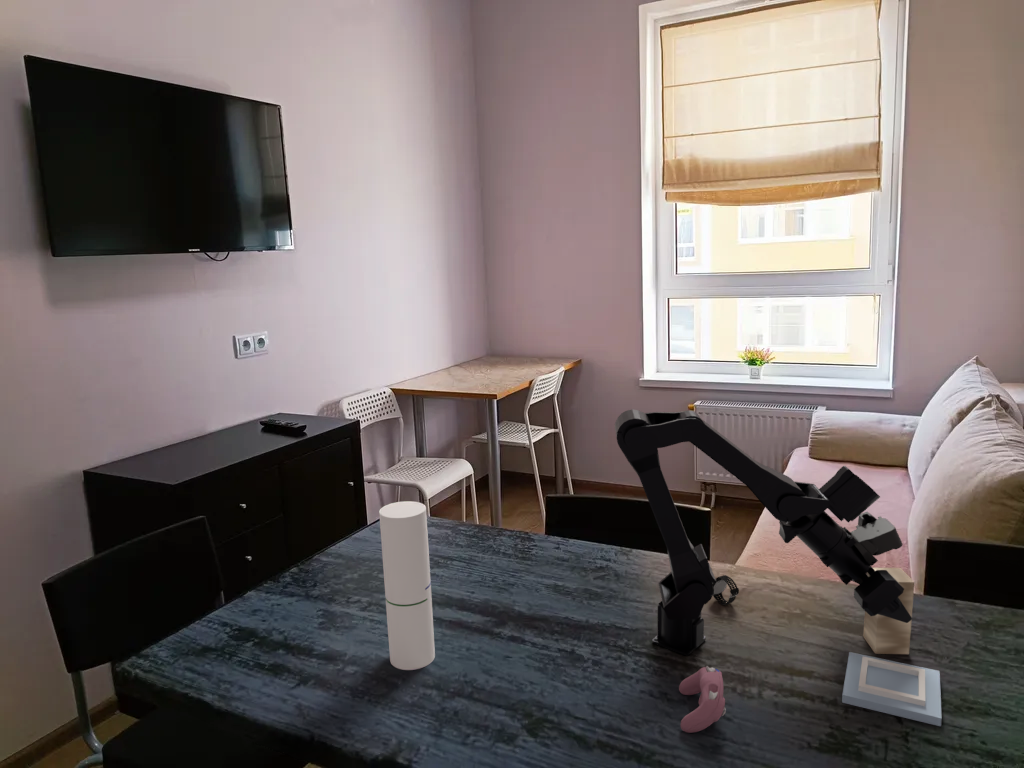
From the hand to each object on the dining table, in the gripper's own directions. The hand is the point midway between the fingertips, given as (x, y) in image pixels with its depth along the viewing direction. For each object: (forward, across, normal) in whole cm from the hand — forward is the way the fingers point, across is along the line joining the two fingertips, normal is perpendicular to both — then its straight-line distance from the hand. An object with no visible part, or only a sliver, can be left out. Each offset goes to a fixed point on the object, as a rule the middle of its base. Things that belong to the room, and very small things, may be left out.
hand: (897, 606), depth 116 cm
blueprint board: (+1, -12, +8) cm, 15 cm away
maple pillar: (+4, 0, +6) cm, 7 cm away
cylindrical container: (-49, -6, +59) cm, 77 cm away
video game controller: (-18, -18, +28) cm, 38 cm away
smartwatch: (-12, +13, +22) cm, 28 cm away
